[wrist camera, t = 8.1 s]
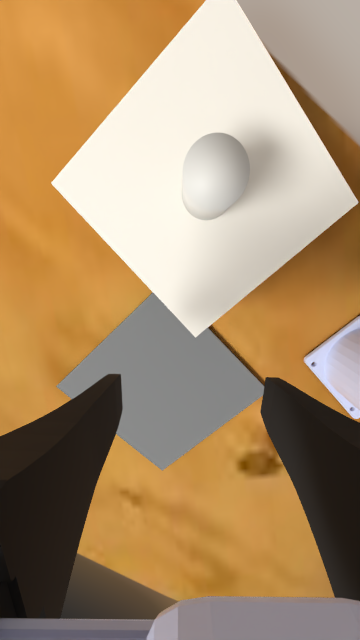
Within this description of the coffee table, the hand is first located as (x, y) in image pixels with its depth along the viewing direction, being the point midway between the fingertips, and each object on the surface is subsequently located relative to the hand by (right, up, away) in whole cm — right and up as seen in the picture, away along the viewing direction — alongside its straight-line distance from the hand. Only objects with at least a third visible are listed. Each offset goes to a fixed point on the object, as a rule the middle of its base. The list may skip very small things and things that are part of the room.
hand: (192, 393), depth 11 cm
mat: (-2, -3, +12) cm, 12 cm away
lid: (+1, +11, +3) cm, 12 cm away
